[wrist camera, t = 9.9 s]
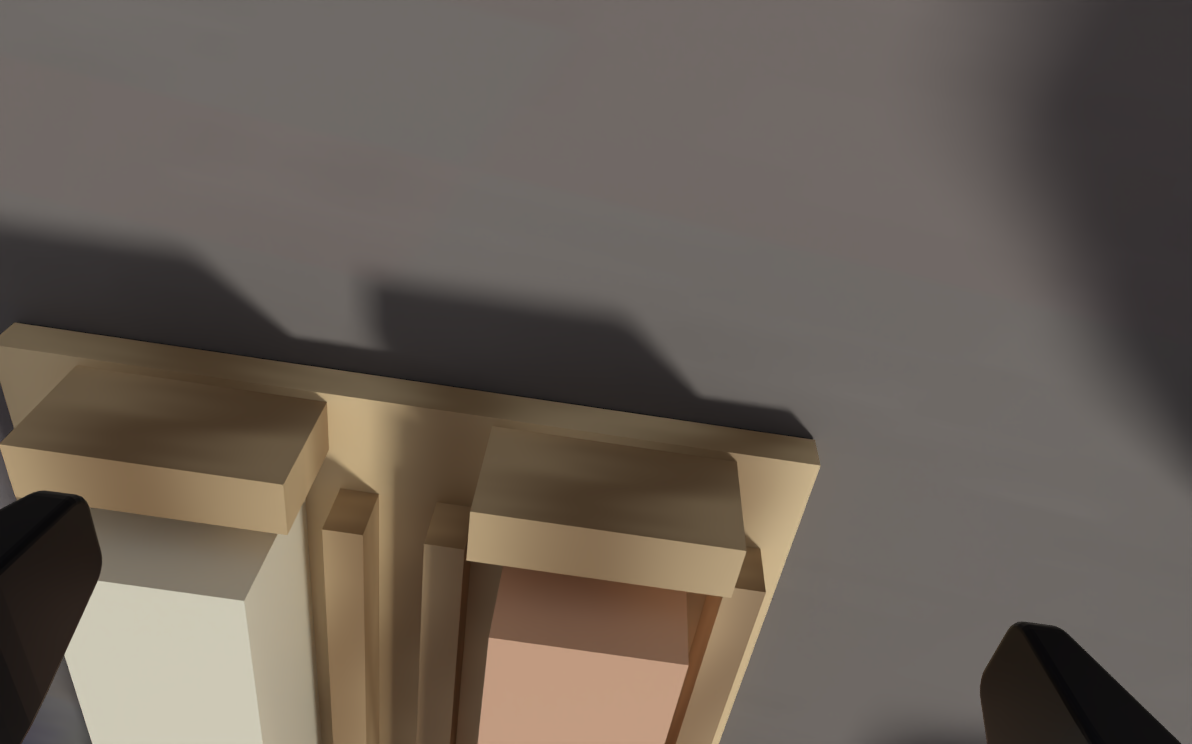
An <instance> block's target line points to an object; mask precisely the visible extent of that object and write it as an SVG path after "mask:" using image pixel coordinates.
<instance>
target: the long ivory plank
mask: <svg viewBox="0 0 1192 744" xmlns="http://www.w3.org/2000/svg"><path fill="white" fill-rule="evenodd" d="M89 508H90V511H91V515H92V519H93V522H94V526H95V530H96V534H97V537H98V541H99V545H100V549H101V552H102V568H101V573H100V576H99V579H98V582H97V584H96V586H95V588H94V591H93V593H92V595H91V597H90V599H89V602H88V604H87V606H86V608H85V610H84V613H83V615H82V617H81V619H80V622H79V624H78V626H77V628H76V630H75V633H74V635H73V637H72V639H71V641H70V644H69V646H68V648H67V650H66V652H65V659H66V662H67V665H68V668H69V671H70V674H71V678H72V681H73V684H74V687H75V690H76V693H77V697H78V700H79V703H80V706H81V709H82V712H83V716H84V719H85V722H86V725H87V728H88V731H89V735H90V738H91V741H92V744H322V739H321V724H320V708H319V693H318V678H317V663H316V648H315V633H314V618H313V603H312V588H311V573H310V558H309V543H308V528H307V513H306V498H305V500H304V502H303V504H302V506H301V508H300V510H299V512H298V515H297V517H296V519H295V521H294V523H293V525H292V527H291V529H290V531H289V533H288V535H282V534H275V533H268V532H261V531H254V530H247V529H240V528H233V527H226V526H219V525H212V524H205V523H198V522H191V521H183V520H176V519H169V518H162V517H155V516H148V515H141V514H134V513H127V512H120V511H113V510H106V509H99V508H92V507H89Z"/></svg>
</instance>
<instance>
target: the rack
mask: <svg viewBox="0 0 1192 744" xmlns="http://www.w3.org/2000/svg"><path fill="white" fill-rule="evenodd" d="M0 383H1V386H2V389H3V393H4V396H5V400H6V403H7V406H8V410H9V413H10V416H11V420H12V423H13V426H14V429H13V430H12V431H11V432H10V433H9V435H8V436H7V437H6V438H5V439H4V440H3V441H2V442H1V443H0V449H1V452H2V456H3V459H4V462H5V465H6V468H7V472H8V475H9V478H10V481H11V484H12V487H13V491H14V494H15V497H16V499H17V500H19V499H21V498H23V497H24V496H26V495H28V494H31V493H33V492H36V491H43V490H45V491H54V492H61V493H68V494H76V495H79V496H82V497H83V498H84V499H85V500H86V501H87V502H88V505H89V507H92V508H99V509H106V510H113V511H120V512H127V513H134V514H141V515H148V516H155V517H162V518H169V519H176V520H183V521H191V522H198V523H205V524H212V525H219V526H226V527H233V528H240V529H247V530H254V531H261V532H268V533H275V534H282V535H288V533H289V531H290V529H291V527H292V525H293V523H294V521H295V519H296V517H297V515H298V512H299V510H300V508H301V506H302V504H303V502H304V500H305V498H306V513H307V528H308V543H309V558H310V573H311V588H312V603H313V618H314V633H315V648H316V663H317V678H318V693H319V708H320V724H321V739H322V744H478V735H479V726H480V716H481V707H482V697H483V688H484V678H485V669H486V659H487V650H488V640H489V634H490V629H491V624H492V619H493V614H494V609H495V604H496V599H497V594H498V588H499V583H500V578H501V573H502V568H503V566H509V567H516V568H523V569H530V570H537V571H544V572H551V573H558V574H565V575H572V576H579V577H586V578H593V579H600V580H608V581H615V582H622V583H629V584H636V585H643V586H650V587H657V588H664V589H671V590H678V591H685V592H686V593H687V626H688V659H689V666H688V669H687V673H686V676H685V679H684V682H683V686H682V689H681V692H680V695H679V699H678V702H677V705H676V708H675V712H674V715H673V718H672V721H671V725H670V728H669V731H668V734H667V738H666V741H665V744H719V741H720V739H721V736H722V733H723V730H724V728H725V725H726V722H727V720H728V717H729V714H730V711H731V709H732V706H733V703H734V700H735V698H736V695H737V692H738V689H739V687H740V684H741V681H742V679H743V676H744V673H745V670H746V668H747V665H748V662H749V659H750V657H751V654H752V651H753V649H754V646H755V643H756V640H757V638H758V635H759V632H760V629H761V627H762V624H763V621H764V619H765V616H766V613H767V610H768V608H769V605H770V602H771V599H772V597H773V594H774V591H775V588H776V586H777V583H778V580H779V578H780V575H781V572H782V569H783V567H784V564H785V561H786V558H787V556H788V553H789V550H790V548H791V545H792V542H793V539H794V537H795V534H796V531H797V528H798V526H799V523H800V520H801V517H802V515H803V512H804V509H805V507H806V504H807V501H808V498H809V496H810V493H811V490H812V487H813V485H814V482H815V479H816V477H817V474H818V471H819V468H820V461H819V457H818V452H817V448H816V444H815V440H812V439H805V438H798V437H791V436H785V435H778V434H771V433H764V432H757V431H750V430H744V429H737V428H730V427H723V426H716V425H710V424H703V423H696V422H689V421H682V420H675V419H669V418H662V417H655V416H648V415H641V414H635V413H628V412H621V411H614V410H607V409H600V408H594V407H587V406H580V405H573V404H566V403H560V402H553V401H546V400H539V399H532V398H525V397H519V396H512V395H505V394H498V393H491V392H484V391H478V390H471V389H464V388H457V387H450V386H444V385H437V384H430V383H423V382H416V381H409V380H403V379H396V378H389V377H382V376H375V375H369V374H362V373H355V372H348V371H341V370H334V369H328V368H321V367H314V366H307V365H300V364H294V363H287V362H280V361H273V360H266V359H259V358H253V357H246V356H239V355H232V354H225V353H218V352H212V351H205V350H198V349H191V348H184V347H178V346H171V345H164V344H157V343H150V342H143V341H137V340H130V339H123V338H116V337H109V336H103V335H96V334H89V333H82V332H75V331H68V330H62V329H55V328H48V327H41V326H34V325H28V324H21V323H13V324H12V325H11V326H10V327H9V328H8V329H6V330H5V331H4V332H3V333H2V334H1V335H0Z"/></svg>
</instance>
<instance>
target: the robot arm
mask: <svg viewBox="0 0 1192 744" xmlns="http://www.w3.org/2000/svg"><path fill="white" fill-rule="evenodd" d="M101 568H102V552H101V549H100V545H99V541H98V537H97V534H96V530H95V526H94V522H93V519H92V515H91V511H90V508H89V505H88V502H87V501H86V500H85V499H84V498H83V497H82V496H79V495H76V494H68V493H61V492H54V491H45V490H43V491H36V492H33V493H31V494H28V495H26V496H24V497H23V498H21V499H19V500H17V501H15V502H13V503H11V504H9V505H8V506H6V507H4V508H2V509H0V744H21V743H22V742H23V740H24V738H25V736H26V734H27V733H28V731H29V729H30V727H31V725H32V723H33V721H34V719H35V717H36V715H37V713H38V711H39V709H40V707H41V705H42V703H43V701H44V699H45V696H46V694H47V692H48V690H49V688H50V685H51V683H52V681H53V679H54V677H55V674H56V672H57V670H58V668H59V666H60V663H61V661H62V659H63V657H64V655H65V652H66V650H67V648H68V646H69V644H70V641H71V639H72V637H73V635H74V633H75V630H76V628H77V626H78V624H79V622H80V619H81V617H82V615H83V613H84V610H85V608H86V606H87V604H88V602H89V599H90V597H91V595H92V593H93V591H94V588H95V586H96V584H97V582H98V579H99V576H100V573H101ZM980 698H981V705H982V712H983V719H984V725H985V732H986V739H987V744H1181V743H1180V742H1179V741H1178V740H1177V739H1176V738H1175V737H1174V736H1173V735H1172V734H1171V733H1170V732H1169V731H1168V730H1167V729H1166V728H1165V727H1164V726H1162V725H1161V724H1160V723H1159V722H1158V721H1157V720H1156V719H1155V718H1154V717H1153V716H1152V715H1151V714H1150V713H1149V712H1148V711H1147V710H1146V709H1145V708H1144V707H1143V706H1142V705H1141V704H1140V703H1139V702H1138V701H1137V700H1136V699H1135V698H1134V697H1133V696H1132V695H1130V694H1129V693H1128V692H1127V691H1126V690H1125V689H1124V688H1123V687H1122V686H1121V685H1120V684H1119V683H1118V682H1117V681H1116V680H1115V679H1114V678H1113V677H1112V676H1111V675H1110V674H1109V673H1108V672H1107V671H1106V670H1105V669H1104V668H1103V667H1102V666H1101V665H1099V664H1098V663H1097V662H1096V661H1095V660H1094V659H1093V658H1092V657H1091V656H1090V655H1089V654H1088V653H1087V652H1086V651H1085V650H1084V649H1083V648H1082V647H1081V646H1080V645H1079V644H1078V643H1077V642H1076V641H1075V640H1074V639H1073V638H1072V637H1071V636H1070V635H1068V634H1067V633H1066V632H1065V631H1064V630H1062V629H1060V628H1058V627H1056V626H1052V625H1045V624H1037V623H1030V622H1017V623H1015V624H1013V625H1012V626H1011V627H1010V628H1009V629H1008V631H1007V632H1006V634H1005V636H1004V637H1003V639H1002V641H1001V643H1000V644H999V646H998V648H997V649H996V651H995V653H994V655H993V656H992V658H991V660H990V661H989V663H988V665H987V667H986V668H985V670H984V672H983V675H982V679H981V684H980Z"/></svg>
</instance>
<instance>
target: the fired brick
mask: <svg viewBox="0 0 1192 744" xmlns="http://www.w3.org/2000/svg"><path fill="white" fill-rule="evenodd" d="M688 666H689V659H688V626H687V593H686V592H685V591H678V590H671V589H664V588H657V587H650V586H643V585H636V584H629V583H622V582H615V581H608V580H600V579H593V578H586V577H579V576H572V575H565V574H558V573H551V572H544V571H537V570H530V569H523V568H516V567H509V566H503V568H502V573H501V578H500V583H499V588H498V594H497V599H496V604H495V609H494V614H493V619H492V624H491V629H490V634H489V640H488V650H487V659H486V669H485V678H484V688H483V697H482V707H481V716H480V726H479V735H478V744H665V741H666V738H667V734H668V731H669V728H670V725H671V721H672V718H673V715H674V712H675V708H676V705H677V702H678V699H679V695H680V692H681V689H682V686H683V682H684V679H685V676H686V673H687V669H688Z"/></svg>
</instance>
